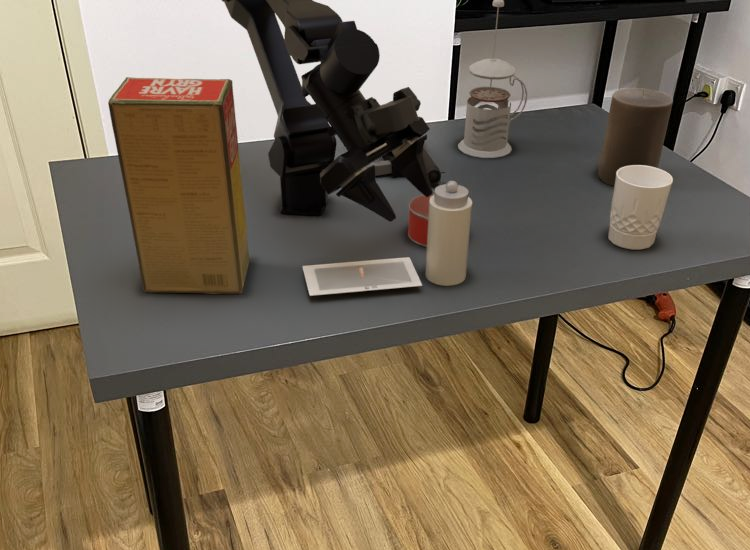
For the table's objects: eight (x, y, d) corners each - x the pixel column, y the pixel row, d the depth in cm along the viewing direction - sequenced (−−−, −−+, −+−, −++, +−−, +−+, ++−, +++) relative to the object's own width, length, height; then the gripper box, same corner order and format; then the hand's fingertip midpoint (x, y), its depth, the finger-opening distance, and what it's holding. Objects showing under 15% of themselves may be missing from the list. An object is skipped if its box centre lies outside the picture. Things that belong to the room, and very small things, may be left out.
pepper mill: (424, 284, 112) (429, 189, 104) (425, 264, 116) (430, 171, 108) (466, 287, 112) (474, 191, 103) (465, 266, 116) (473, 173, 108)
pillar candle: (630, 194, 136) (650, 102, 127) (585, 174, 142) (601, 85, 133) (667, 180, 141) (688, 90, 132) (621, 161, 147) (639, 74, 138)
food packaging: (251, 259, 116) (234, 76, 101) (243, 294, 109) (223, 103, 93) (155, 258, 116) (123, 74, 100) (141, 293, 108) (103, 101, 93)
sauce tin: (406, 247, 120) (407, 217, 117) (409, 220, 127) (410, 192, 124) (465, 249, 120) (467, 220, 117) (464, 223, 127) (467, 195, 124)
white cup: (627, 256, 120) (641, 191, 113) (592, 233, 125) (605, 170, 119) (668, 245, 123) (685, 181, 116) (633, 223, 128) (647, 161, 122)
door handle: (352, 180, 132) (449, 166, 135) (329, 134, 147) (417, 123, 150) (353, 199, 134) (449, 185, 137) (331, 152, 149) (417, 141, 152)
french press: (451, 139, 154) (461, -9, 138) (510, 135, 156) (526, -11, 140) (467, 159, 146) (479, 6, 130) (529, 155, 148) (548, 4, 133)
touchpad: (302, 273, 114) (301, 259, 112) (409, 264, 116) (409, 250, 115) (310, 302, 108) (309, 288, 106) (422, 292, 110) (422, 278, 109)
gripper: (337, 91, 97) (413, 203, 99) (420, 53, 109) (486, 154, 112) (287, 141, 105) (359, 244, 107) (370, 101, 117) (433, 194, 120)
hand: (412, 207), depth 111 cm, fingers open, 9 cm apart
